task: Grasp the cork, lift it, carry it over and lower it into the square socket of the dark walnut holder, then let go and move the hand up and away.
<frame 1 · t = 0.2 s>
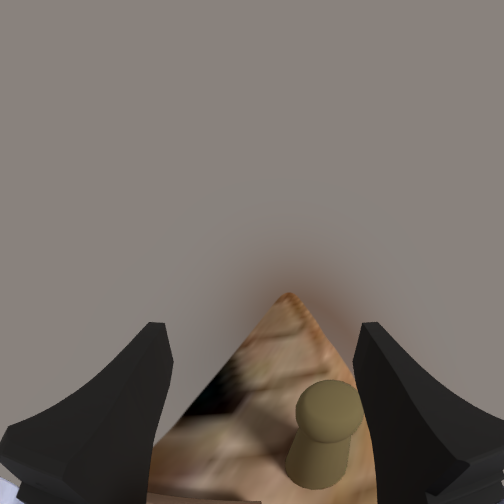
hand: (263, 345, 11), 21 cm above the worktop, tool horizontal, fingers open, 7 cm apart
cork: (316, 464, 26), on the worktop
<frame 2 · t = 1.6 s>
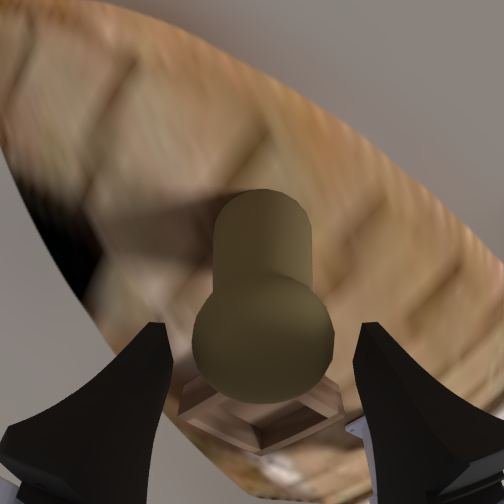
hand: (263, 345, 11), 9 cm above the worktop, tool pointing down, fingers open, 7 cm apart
cork: (262, 235, 20), on the worktop
holder: (261, 388, 26), on the worktop
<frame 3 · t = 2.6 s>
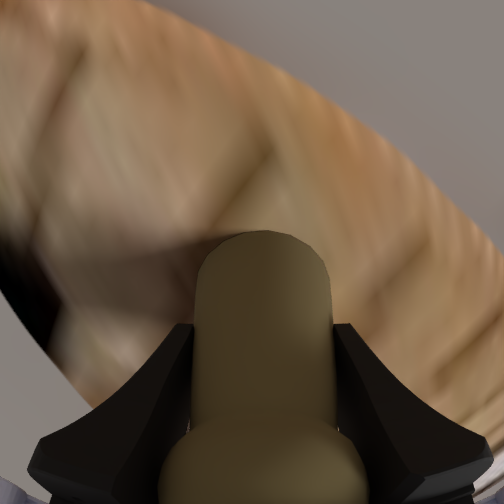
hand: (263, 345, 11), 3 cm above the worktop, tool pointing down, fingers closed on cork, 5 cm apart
cork: (263, 290, 15), on the worktop, touching gripper
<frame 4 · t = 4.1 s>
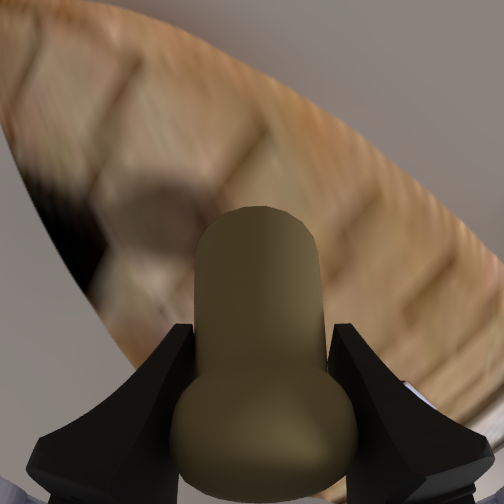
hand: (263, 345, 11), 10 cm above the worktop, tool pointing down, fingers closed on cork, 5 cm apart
cork: (256, 261, 16), point 5 cm above the worktop, touching gripper
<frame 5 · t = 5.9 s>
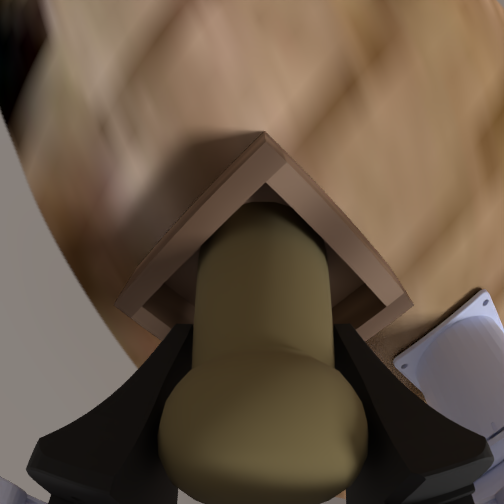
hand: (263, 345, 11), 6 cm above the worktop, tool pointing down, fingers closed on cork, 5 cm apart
cork: (262, 260, 15), point 1 cm above the worktop, touching gripper, holder
holder: (264, 267, 17), on the worktop
when the fingers open (6 cm above the worktop, at t = 6.8 s): cork stays where it is, resting on holder.
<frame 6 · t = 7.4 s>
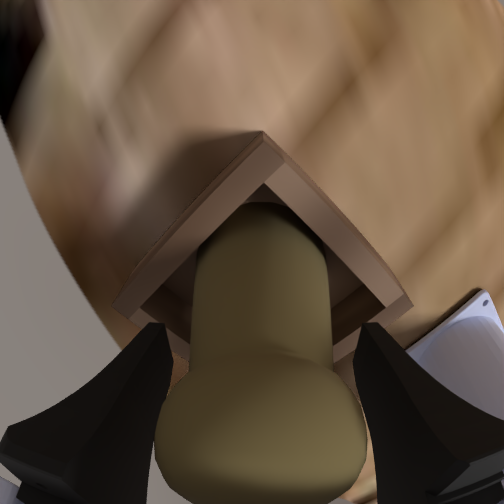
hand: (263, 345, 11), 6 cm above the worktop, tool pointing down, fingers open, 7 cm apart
cork: (261, 261, 15), point 1 cm above the worktop, touching holder
holder: (262, 268, 16), on the worktop
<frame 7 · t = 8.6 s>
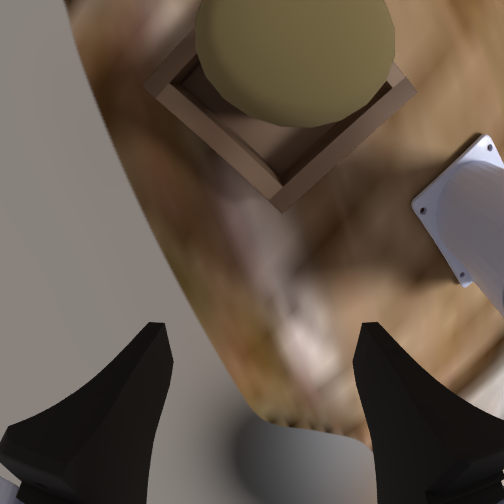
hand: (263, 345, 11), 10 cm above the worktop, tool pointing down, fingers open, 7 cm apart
cork: (278, 66, 15), point 1 cm above the worktop, touching holder
holder: (279, 81, 16), on the worktop
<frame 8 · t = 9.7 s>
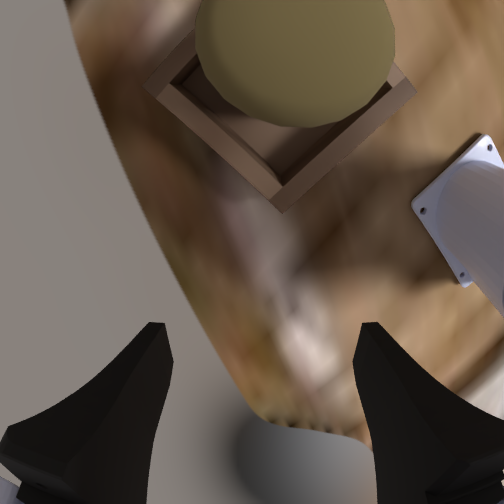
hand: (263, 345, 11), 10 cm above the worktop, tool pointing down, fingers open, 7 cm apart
cork: (278, 66, 15), point 1 cm above the worktop, touching holder
holder: (279, 81, 16), on the worktop
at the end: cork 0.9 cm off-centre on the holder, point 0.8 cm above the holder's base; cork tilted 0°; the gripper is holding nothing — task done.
